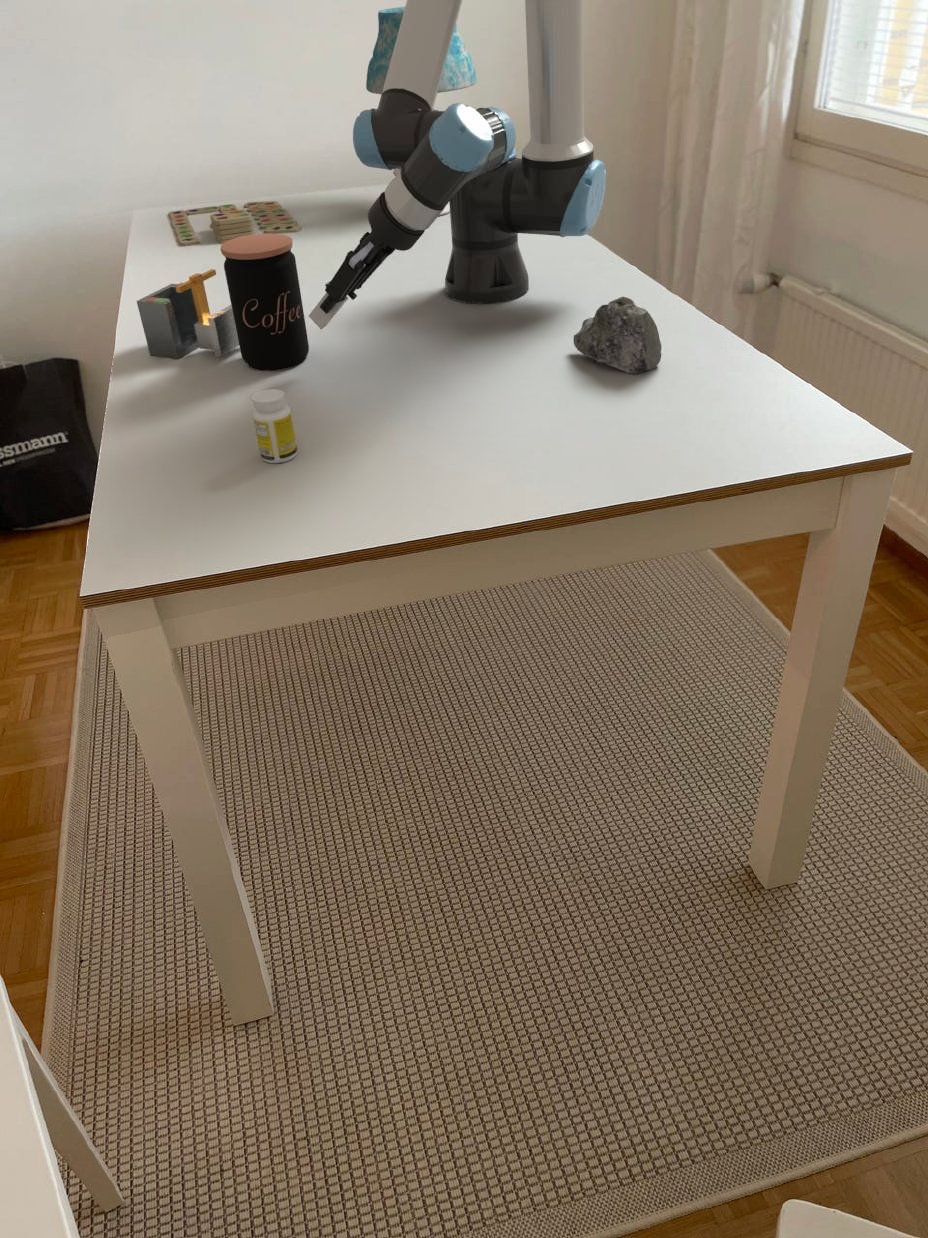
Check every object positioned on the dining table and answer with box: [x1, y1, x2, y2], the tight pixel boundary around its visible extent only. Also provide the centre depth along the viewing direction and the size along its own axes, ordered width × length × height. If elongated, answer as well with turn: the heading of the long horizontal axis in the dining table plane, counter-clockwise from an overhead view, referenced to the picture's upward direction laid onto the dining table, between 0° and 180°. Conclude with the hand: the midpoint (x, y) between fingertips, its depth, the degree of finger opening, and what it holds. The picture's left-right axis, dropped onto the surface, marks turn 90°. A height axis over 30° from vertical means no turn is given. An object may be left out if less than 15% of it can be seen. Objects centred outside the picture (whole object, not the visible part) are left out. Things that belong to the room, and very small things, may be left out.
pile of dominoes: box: [168, 200, 303, 247], centre depth 227 cm, size 35×27×6 cm
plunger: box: [176, 268, 240, 357], centre depth 156 cm, size 6×9×11 cm, turn 156°
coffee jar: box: [220, 232, 310, 372], centre depth 151 cm, size 11×11×18 cm
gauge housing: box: [136, 282, 200, 360], centre depth 160 cm, size 6×9×9 cm, turn 156°
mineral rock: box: [573, 296, 662, 375], centre depth 145 cm, size 13×11×10 cm
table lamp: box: [365, 6, 478, 217], centre depth 214 cm, size 24×24×40 cm
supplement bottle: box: [252, 388, 298, 464], centre depth 125 cm, size 5×5×8 cm
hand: (317, 320), depth 148 cm, fingers closed
